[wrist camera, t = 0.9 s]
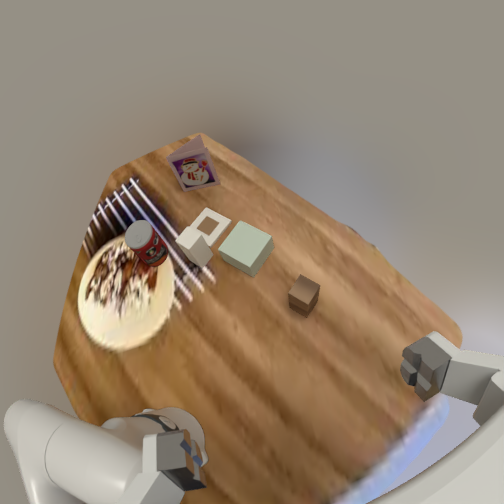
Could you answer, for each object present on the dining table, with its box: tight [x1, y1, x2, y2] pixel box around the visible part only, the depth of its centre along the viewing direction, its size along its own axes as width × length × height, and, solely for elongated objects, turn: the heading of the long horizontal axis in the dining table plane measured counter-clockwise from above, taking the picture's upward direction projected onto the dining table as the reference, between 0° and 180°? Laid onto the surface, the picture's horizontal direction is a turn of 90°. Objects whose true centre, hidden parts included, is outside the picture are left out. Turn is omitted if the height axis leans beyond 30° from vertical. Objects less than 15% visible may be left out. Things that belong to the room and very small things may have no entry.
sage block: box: [218, 221, 274, 277], centre depth 69 cm, size 9×9×6 cm
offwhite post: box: [176, 226, 213, 269], centre depth 69 cm, size 4×4×10 cm
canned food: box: [125, 220, 168, 266], centre depth 71 cm, size 8×8×11 cm
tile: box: [190, 208, 232, 247], centre depth 77 cm, size 9×9×1 cm
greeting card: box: [166, 134, 220, 192], centre depth 79 cm, size 11×7×15 cm, turn 96°
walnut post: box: [288, 274, 320, 318], centre depth 59 cm, size 4×4×10 cm
